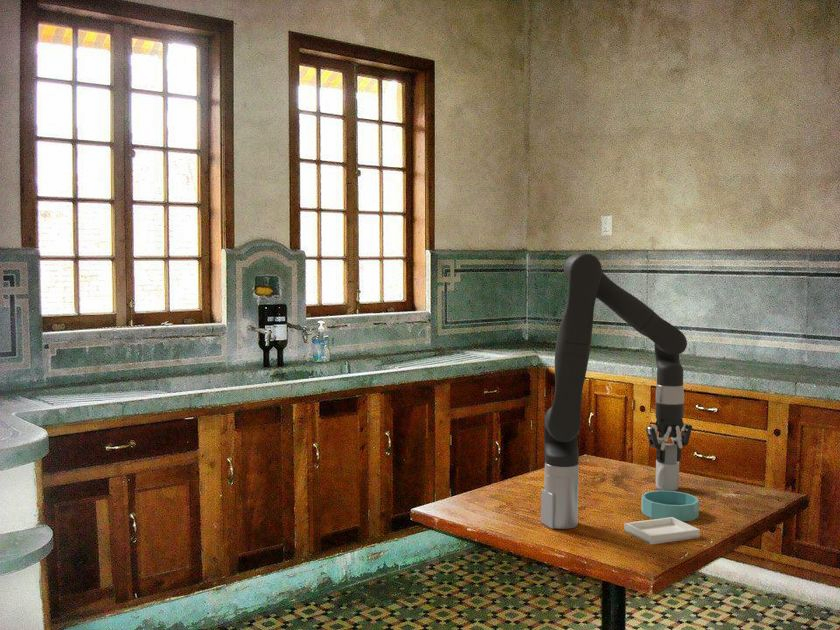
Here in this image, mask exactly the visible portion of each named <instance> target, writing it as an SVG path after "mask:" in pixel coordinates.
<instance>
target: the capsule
mask: <svg viewBox="0 0 840 630" xmlns="http://www.w3.org/2000/svg"><path fill="white" fill-rule="evenodd" d="M664 450H665V462H664V463H662V464H665V465H675V464H677V445H676V444H673V443H670V442H669V443H668V442H667V443H666V444H665V448H664Z"/></svg>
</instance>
